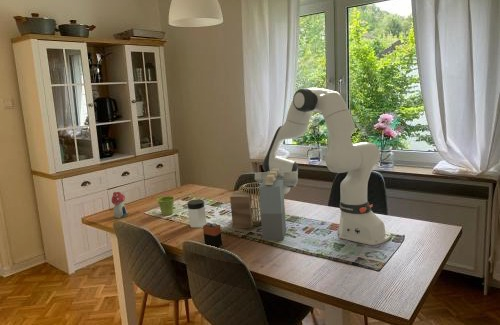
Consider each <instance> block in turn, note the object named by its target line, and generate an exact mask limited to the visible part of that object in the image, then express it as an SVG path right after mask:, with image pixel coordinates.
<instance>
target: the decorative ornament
mask: <svg viewBox="0 0 500 325" xmlns="http://www.w3.org/2000/svg"><path fill="white" fill-rule="evenodd" d="M125 199H126V197H125V195H124V194H123V193H122V192H121V191H114V192H113V193H112V197H111V203H112V204H113V211H112V212H113V215H114V216H113V217H114V218H116V219H123V218H126V217H127V216H128V213H129V211H128V210H127V208H126V205H125V204H124V201H125Z"/></svg>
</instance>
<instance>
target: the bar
mask: <svg viewBox="0 0 500 325" xmlns="http://www.w3.org/2000/svg"><path fill="white" fill-rule="evenodd" d="M277 171H279V169H272V170H271V171H270V173H269V174H268V175H267V177H266V178H265V185H273V183H274V181H275V180H276V178H277V176H278V175H277Z"/></svg>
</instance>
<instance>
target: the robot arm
mask: <svg viewBox="0 0 500 325" xmlns="http://www.w3.org/2000/svg"><path fill="white" fill-rule="evenodd" d="M313 113H321V114H322V117H323V119H324V122H325V125H326V128H327V130H328V133H329V139H330V143H329V144H330V146H329V149H328V151H327V152H326V154H325V158H324V159H325V160H324V161H325V165H326V167H327V169H328V170H329V171H330V172H331V173H336V174H337V173H338V174H339V173H340V174H341V173H342V174H343V173H347V174H346V176H345V178H344V179H342V181H341V182H340V185H339V186H340V200H339V209H340V218H339V224H338V229H337V233H338V235H339V236H338V238H340V239H343V240H348V241H351V242H356V243H360V244H365V245H369V246H376V245H380V244H383V243H385V242H387V241H388V240H390V239H391V237H392V234H391V233H390V232H389V231H386V227H385V223H384V221H383V220H382V219H381V218H379V216H377V214H376V213H375V212H373V211H372V207H373V205H374V204H373V203H372V204H370V203H369V201H368V184H369V179H370V176H371V174H372V171H373V169H374V167H375V165H376V164H378V162H379V161H380V158H381V152H380V151H381V150H380V149H379V147H378V146H377V145H376V144H375V143H373V142H367V141H366V142H365V141H364V142H361V141H360V142H358V143H352V135H353V133H354V132H355V130H356V124H355V122H354V120H353V117H352V114H351V112H350V110H349V108H348V105H347V103H346V102H345V100H344V98H343V96H342V95H341V93H339V92H338V91H334V90H331V89H329V88H322V87H321V88H319V87H308V88H307V87H303V88H299V89H297V90H296V91H295V92H294V94H293V97H292V101H291V103H290V106H289V108H288V111H287V114H286V119H285V121H284V123H283V125H280V126H279V127H277V129H276V131H275V134H274V135H273V138H272V140H271V143H270V145H269V147H268V150H267V153H266V155H265V157H264V159H263V161H262V166H261V168H262V169H263V171H264V172H262V171H261V172H255V173H254V181H256V182H257V183H259V184H261V183H262V182H263V181H265V178H266V177H267V175H268V174H269V173H270V171H271V170H272V169H279V171H277V175H278V176H277V178H276V180H283V189H284V195H286V194H288V193H289V192H290V190H291V188H295V187H296V186H297V184H298V177H299V176H298V175H299V166H298V163H297V162H296V161H294V160H292V159H288V158H285V157H282V156H279V155H278V154H277V152H278V151H279V147H280V145H281V143H282V141H284V140H291V139H292V140H293V139H297V138H300V137H303V136H304V135H305V134H306V133H307V131H308V126H309V124H310V119H311V115H312V114H313Z"/></svg>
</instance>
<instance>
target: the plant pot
mask: <svg viewBox="0 0 500 325" xmlns="http://www.w3.org/2000/svg"><path fill="white" fill-rule="evenodd" d="M175 199H176V198H175V196H171V195H168V196H162V197H161V196H160V197H159V198H157V200H156V202H158V205H159V208H160V211H161V215H162V216H170V215H173V214H174V202H175Z"/></svg>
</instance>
